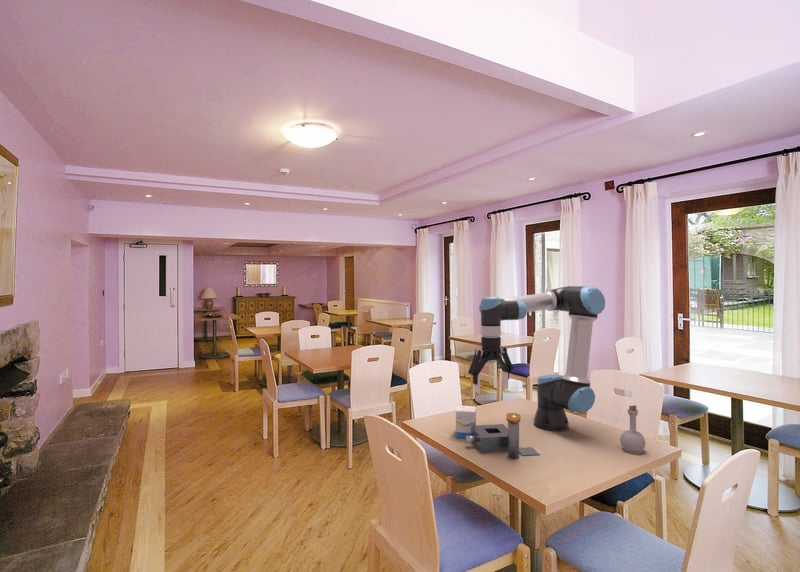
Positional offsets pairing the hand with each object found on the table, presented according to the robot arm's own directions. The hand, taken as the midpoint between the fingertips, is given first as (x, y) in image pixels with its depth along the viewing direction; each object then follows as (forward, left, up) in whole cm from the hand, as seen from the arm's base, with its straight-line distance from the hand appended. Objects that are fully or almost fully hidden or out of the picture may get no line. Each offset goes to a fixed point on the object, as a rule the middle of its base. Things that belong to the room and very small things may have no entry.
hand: (491, 390), depth 167 cm
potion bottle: (-55, +7, -24) cm, 61 cm away
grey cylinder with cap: (-6, +6, -24) cm, 26 cm away
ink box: (+5, -19, -24) cm, 31 cm away
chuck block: (0, -6, -24) cm, 25 cm away
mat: (-13, +3, -24) cm, 28 cm away
